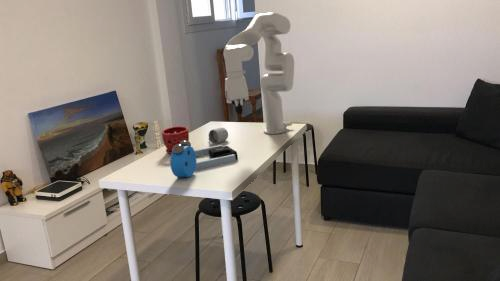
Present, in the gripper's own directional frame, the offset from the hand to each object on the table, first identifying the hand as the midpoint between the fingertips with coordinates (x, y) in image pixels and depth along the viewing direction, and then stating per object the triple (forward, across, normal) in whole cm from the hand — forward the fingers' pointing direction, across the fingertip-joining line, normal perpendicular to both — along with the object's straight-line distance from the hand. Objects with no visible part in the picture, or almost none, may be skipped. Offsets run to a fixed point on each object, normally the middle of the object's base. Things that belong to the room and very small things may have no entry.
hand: (239, 113), depth 211 cm
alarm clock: (+19, +32, +15) cm, 41 cm away
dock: (+19, +16, 0) cm, 25 cm away
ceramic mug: (+19, +5, -26) cm, 33 cm away
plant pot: (+19, +27, -22) cm, 40 cm away
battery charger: (+20, +11, +2) cm, 23 cm away
